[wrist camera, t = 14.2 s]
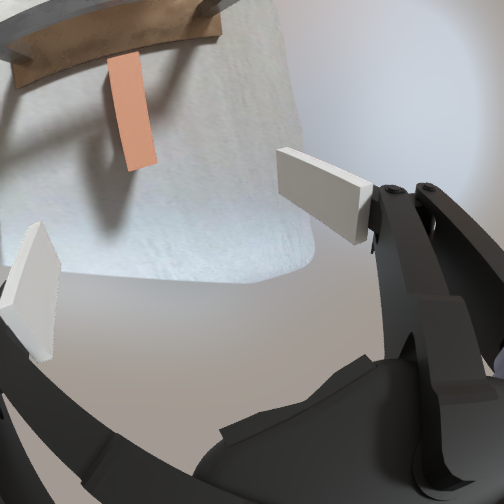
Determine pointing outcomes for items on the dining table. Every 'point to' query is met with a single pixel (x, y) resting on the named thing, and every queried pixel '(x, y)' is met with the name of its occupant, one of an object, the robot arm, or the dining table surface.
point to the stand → (99, 31)
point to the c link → (131, 110)
